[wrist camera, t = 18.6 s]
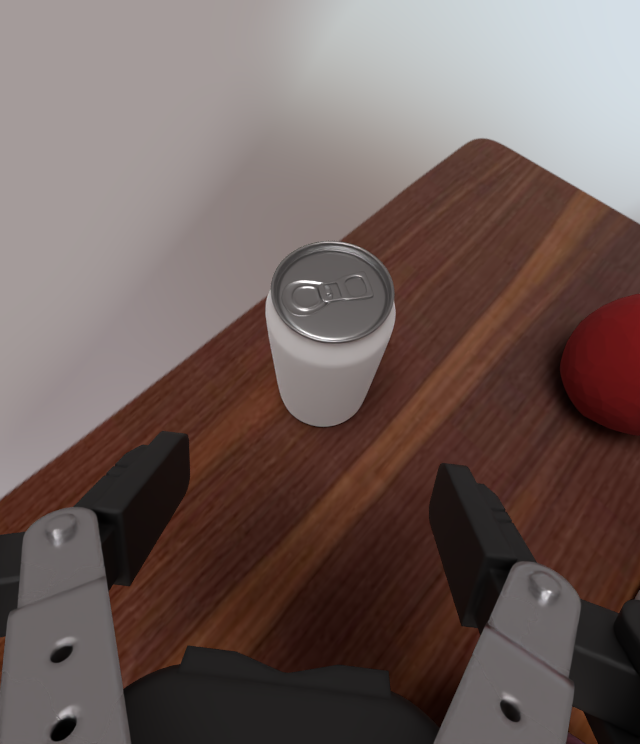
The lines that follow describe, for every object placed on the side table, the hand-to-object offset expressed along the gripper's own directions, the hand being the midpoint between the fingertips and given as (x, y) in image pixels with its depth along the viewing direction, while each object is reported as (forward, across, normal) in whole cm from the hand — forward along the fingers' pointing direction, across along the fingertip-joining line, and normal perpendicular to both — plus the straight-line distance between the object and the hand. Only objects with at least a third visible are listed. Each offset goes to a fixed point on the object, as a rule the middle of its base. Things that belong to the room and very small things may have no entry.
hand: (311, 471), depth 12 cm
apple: (+17, +21, -2) cm, 27 cm away
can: (+16, 0, -4) cm, 16 cm away
